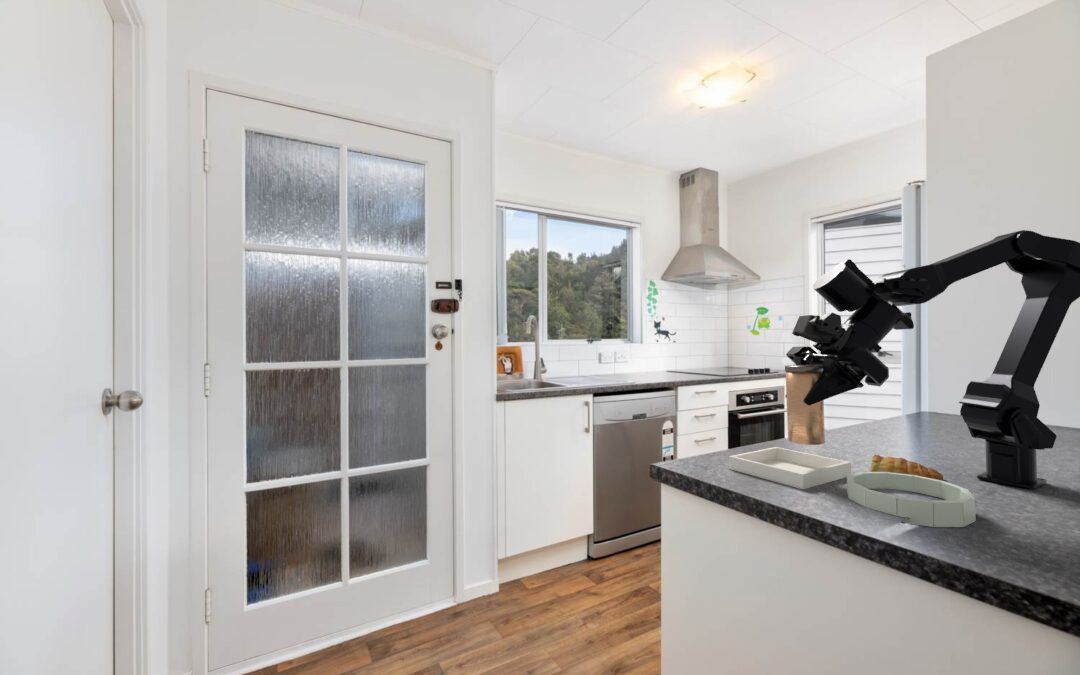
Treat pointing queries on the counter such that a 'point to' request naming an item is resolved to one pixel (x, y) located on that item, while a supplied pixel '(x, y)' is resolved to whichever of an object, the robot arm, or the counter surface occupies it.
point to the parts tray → (790, 467)
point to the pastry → (902, 467)
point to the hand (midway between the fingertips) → (796, 401)
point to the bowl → (920, 512)
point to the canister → (804, 405)
